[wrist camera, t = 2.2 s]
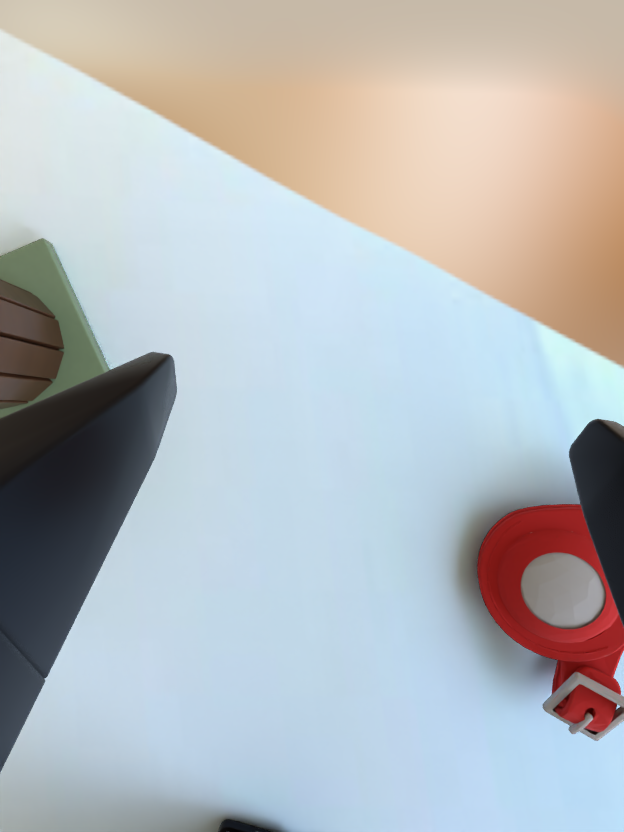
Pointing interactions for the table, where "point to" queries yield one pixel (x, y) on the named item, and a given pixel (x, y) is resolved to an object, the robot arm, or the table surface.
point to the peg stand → (50, 284)
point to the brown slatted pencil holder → (26, 346)
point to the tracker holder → (558, 609)
